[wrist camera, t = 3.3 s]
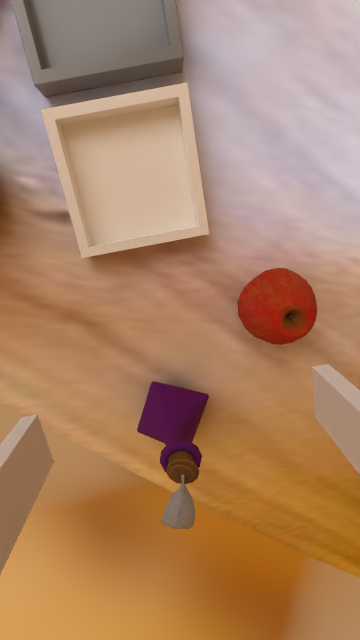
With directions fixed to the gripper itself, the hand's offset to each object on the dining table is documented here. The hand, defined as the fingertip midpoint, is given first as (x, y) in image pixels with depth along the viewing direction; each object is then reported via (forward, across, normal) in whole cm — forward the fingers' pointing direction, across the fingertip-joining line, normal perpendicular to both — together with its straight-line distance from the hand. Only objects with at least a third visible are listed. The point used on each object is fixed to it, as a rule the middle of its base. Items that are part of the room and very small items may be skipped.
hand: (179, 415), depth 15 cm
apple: (+25, +12, -2) cm, 28 cm away
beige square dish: (+24, -2, +14) cm, 28 cm away
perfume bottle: (+25, -2, -14) cm, 29 cm away
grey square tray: (+24, -2, +30) cm, 39 cm away
